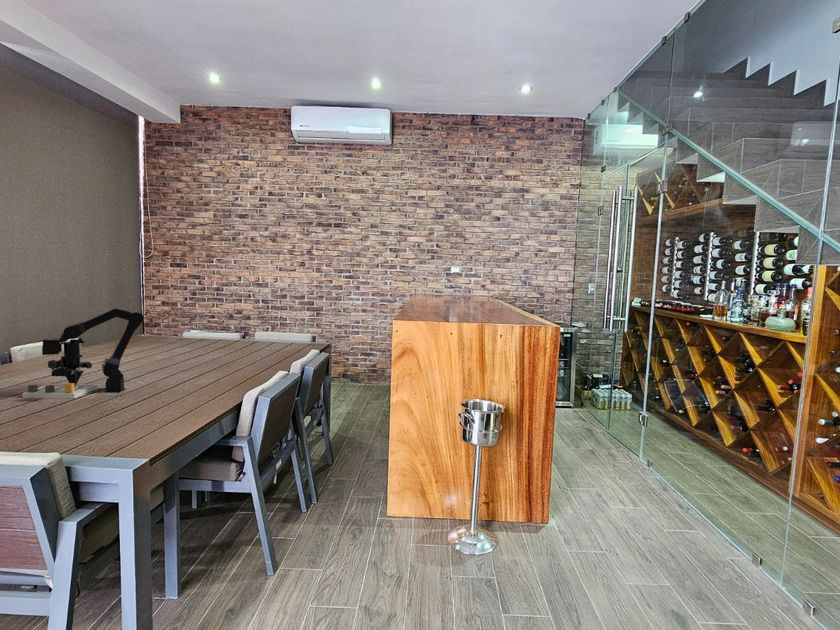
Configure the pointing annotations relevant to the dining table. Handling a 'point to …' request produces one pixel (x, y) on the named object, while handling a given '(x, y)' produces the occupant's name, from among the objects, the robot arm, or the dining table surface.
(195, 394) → the dining table surface
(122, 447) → the dining table surface
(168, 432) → the dining table surface
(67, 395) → the breaker panel
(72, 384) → the block
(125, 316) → the robot arm
